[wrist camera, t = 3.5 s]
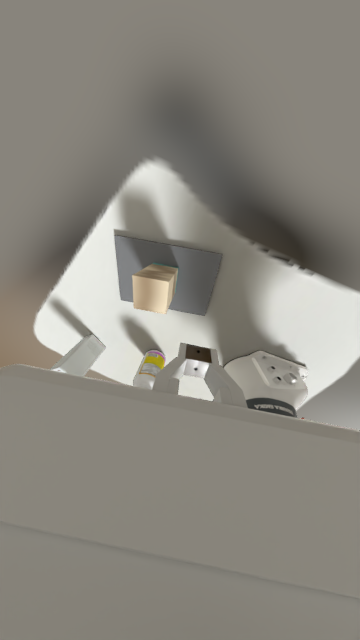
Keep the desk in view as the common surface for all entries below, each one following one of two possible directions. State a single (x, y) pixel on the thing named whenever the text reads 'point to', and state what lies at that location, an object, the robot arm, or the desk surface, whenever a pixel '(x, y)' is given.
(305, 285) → the desk surface
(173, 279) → the birch block
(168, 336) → the desk surface
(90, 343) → the skincare box
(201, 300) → the rubber mat
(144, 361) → the supplement bottle
